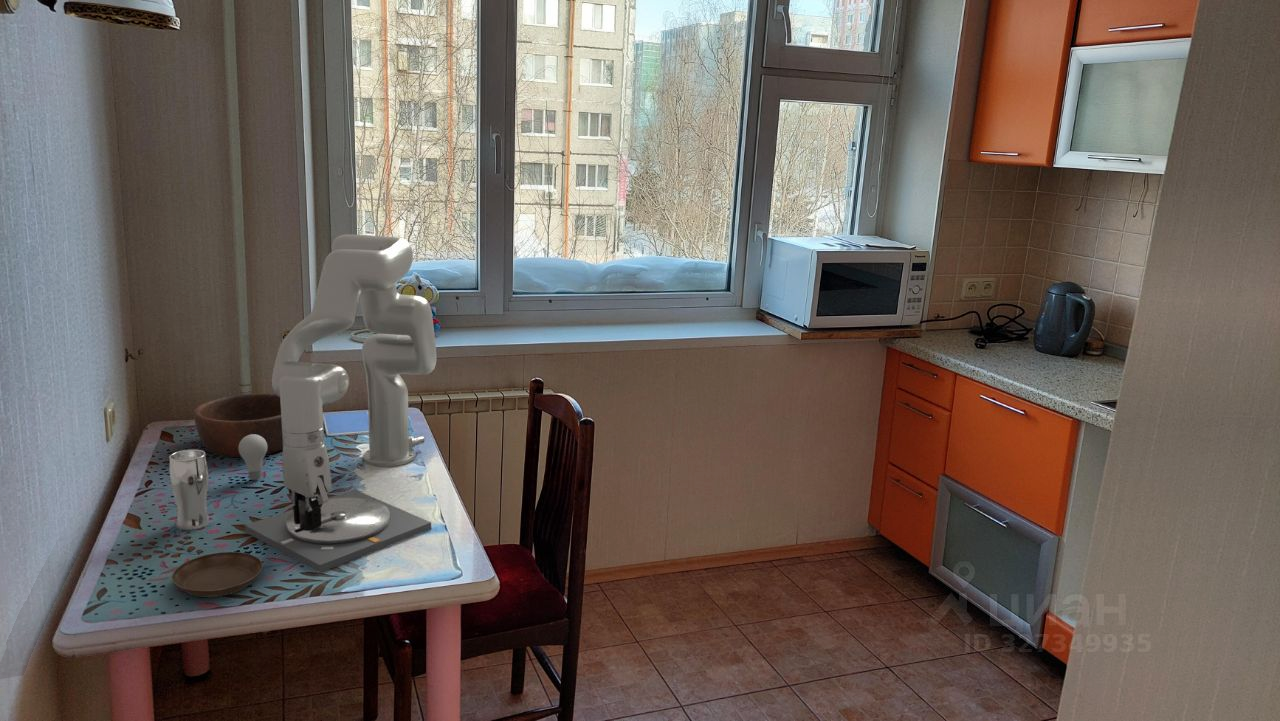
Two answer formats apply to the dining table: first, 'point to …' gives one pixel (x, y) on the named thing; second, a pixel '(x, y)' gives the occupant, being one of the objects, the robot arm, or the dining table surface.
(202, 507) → the beer glass
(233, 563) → the saucer
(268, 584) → the dining table surface
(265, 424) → the wooden bowl
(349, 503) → the dial
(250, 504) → the dining table surface
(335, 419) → the tablet computer
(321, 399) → the robot arm
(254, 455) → the lightbulb
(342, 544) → the dial plate
